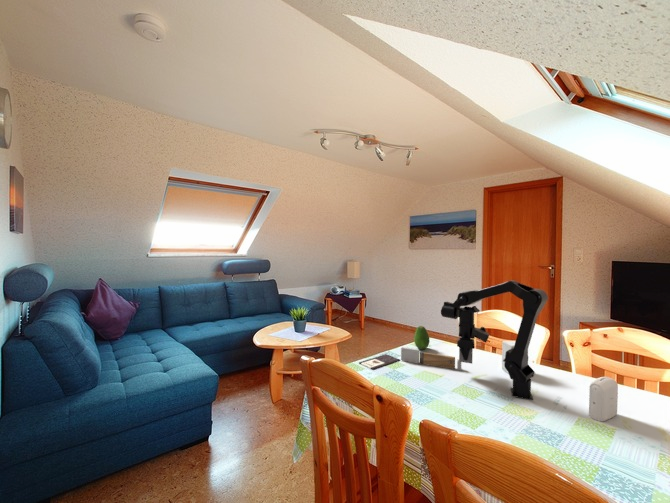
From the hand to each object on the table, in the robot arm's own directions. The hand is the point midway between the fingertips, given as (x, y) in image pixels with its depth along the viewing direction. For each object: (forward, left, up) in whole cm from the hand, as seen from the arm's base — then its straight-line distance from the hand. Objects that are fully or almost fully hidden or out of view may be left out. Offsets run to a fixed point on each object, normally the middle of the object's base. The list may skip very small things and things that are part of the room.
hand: (465, 358), depth 128 cm
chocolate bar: (-1, +37, -8) cm, 38 cm away
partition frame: (+6, +15, -7) cm, 18 cm away
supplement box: (+13, -19, -8) cm, 24 cm away
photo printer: (-14, -41, -8) cm, 44 cm away
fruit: (+26, +22, -8) cm, 35 cm away
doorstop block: (0, 0, -1) cm, 1 cm away
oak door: (+6, +12, -7) cm, 15 cm away
